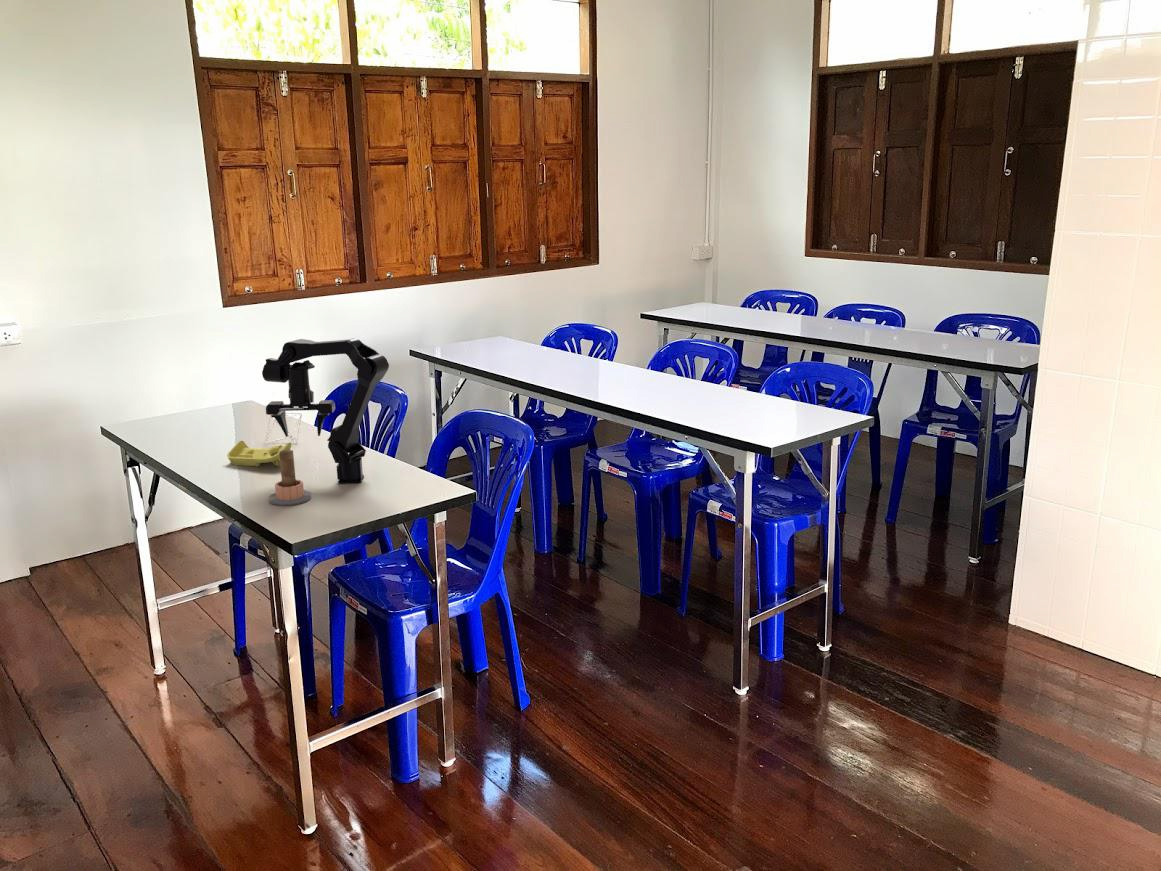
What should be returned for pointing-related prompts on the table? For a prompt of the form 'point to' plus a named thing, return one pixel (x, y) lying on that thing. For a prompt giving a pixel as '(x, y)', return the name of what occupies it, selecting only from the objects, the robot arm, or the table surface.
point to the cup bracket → (289, 494)
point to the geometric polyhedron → (288, 432)
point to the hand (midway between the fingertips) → (303, 436)
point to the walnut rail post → (287, 468)
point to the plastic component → (255, 454)
